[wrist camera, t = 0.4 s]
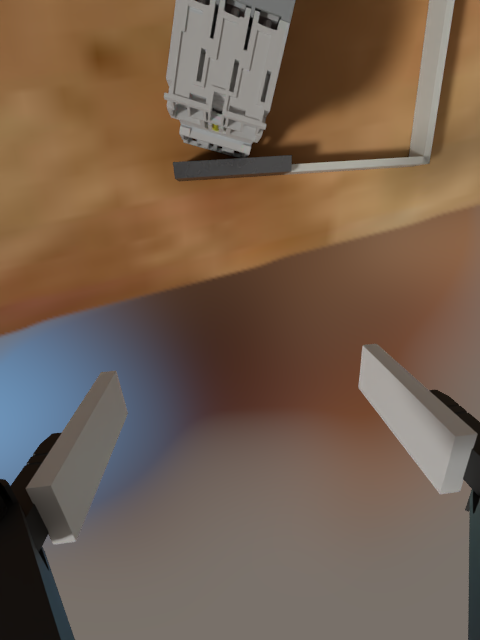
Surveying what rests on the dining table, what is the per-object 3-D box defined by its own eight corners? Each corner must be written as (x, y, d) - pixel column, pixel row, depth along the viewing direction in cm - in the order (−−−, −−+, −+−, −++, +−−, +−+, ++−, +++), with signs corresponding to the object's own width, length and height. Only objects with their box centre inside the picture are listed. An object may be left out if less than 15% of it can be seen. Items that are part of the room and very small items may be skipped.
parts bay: (282, -43, 30) (289, -68, 27) (442, -47, 30) (465, -72, 28) (283, 174, 37) (289, 172, 34) (413, 166, 38) (429, 163, 35)
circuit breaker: (277, 11, 31) (329, -144, 17) (245, 160, 36) (264, 132, 22) (207, -15, 30) (201, -205, 16) (183, 142, 35) (163, 101, 21)
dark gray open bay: (151, -39, 29) (142, -75, 25) (282, -43, 30) (291, -78, 26) (179, 181, 36) (175, 178, 32) (283, 174, 37) (291, 171, 33)
